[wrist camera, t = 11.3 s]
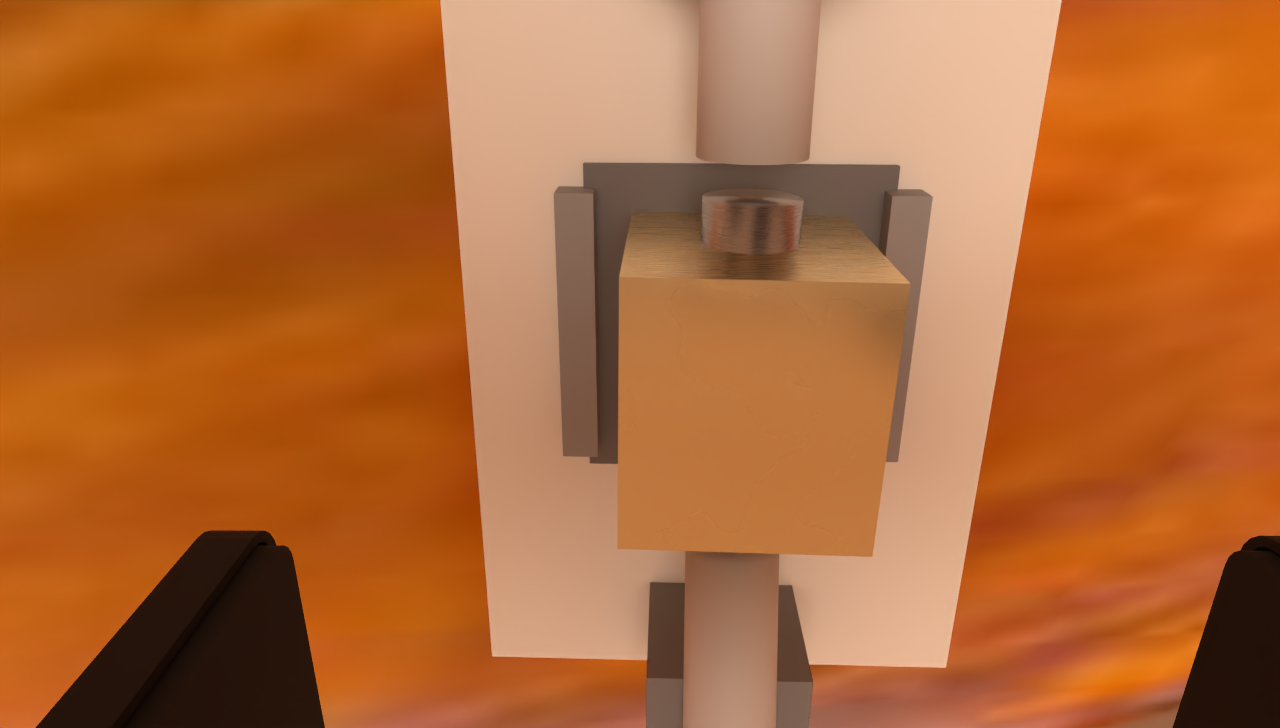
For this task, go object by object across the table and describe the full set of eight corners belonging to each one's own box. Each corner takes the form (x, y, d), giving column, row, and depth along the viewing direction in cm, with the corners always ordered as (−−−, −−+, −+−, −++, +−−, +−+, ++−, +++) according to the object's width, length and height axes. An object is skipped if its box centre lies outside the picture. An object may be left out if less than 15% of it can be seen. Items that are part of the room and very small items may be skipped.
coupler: (632, 172, 17) (619, 226, 13) (851, 176, 17) (918, 232, 13) (629, 455, 20) (617, 586, 15) (821, 460, 20) (867, 594, 15)
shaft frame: (446, -156, 17) (312, -265, 11) (1056, -159, 16) (1297, -272, 10) (503, 628, 24) (443, 844, 18) (928, 638, 24) (1021, 862, 17)
